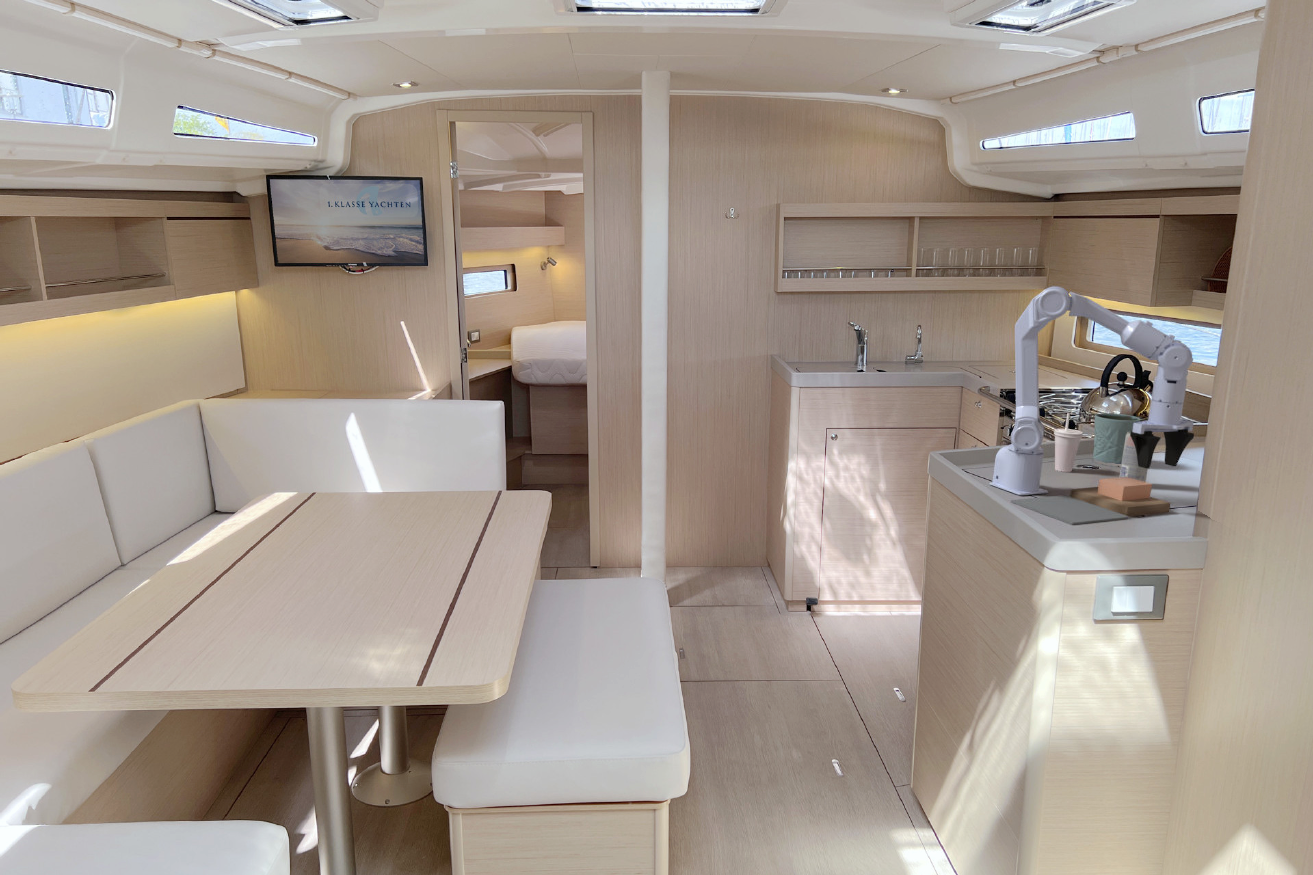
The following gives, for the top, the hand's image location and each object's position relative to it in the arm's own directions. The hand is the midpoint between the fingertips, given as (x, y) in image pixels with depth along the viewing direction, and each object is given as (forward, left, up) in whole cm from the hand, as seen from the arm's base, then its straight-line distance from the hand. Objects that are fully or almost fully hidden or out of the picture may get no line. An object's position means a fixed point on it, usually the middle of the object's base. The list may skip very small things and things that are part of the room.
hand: (1157, 466), depth 182 cm
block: (-3, -4, -7) cm, 9 cm away
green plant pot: (-33, +27, -9) cm, 44 cm away
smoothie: (-30, +8, -9) cm, 33 cm away
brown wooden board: (-3, -5, -9) cm, 11 cm away
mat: (-3, -19, -9) cm, 21 cm away
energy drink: (-15, +13, -9) cm, 22 cm away
